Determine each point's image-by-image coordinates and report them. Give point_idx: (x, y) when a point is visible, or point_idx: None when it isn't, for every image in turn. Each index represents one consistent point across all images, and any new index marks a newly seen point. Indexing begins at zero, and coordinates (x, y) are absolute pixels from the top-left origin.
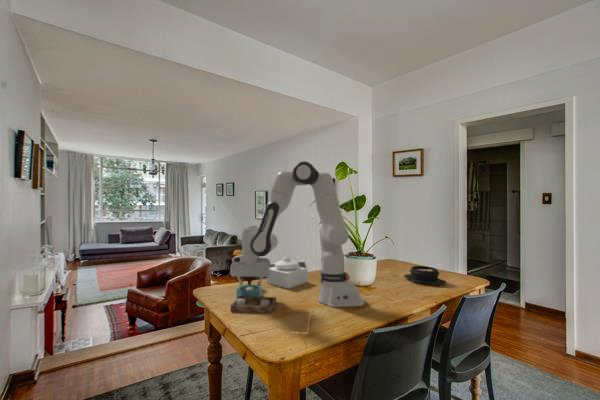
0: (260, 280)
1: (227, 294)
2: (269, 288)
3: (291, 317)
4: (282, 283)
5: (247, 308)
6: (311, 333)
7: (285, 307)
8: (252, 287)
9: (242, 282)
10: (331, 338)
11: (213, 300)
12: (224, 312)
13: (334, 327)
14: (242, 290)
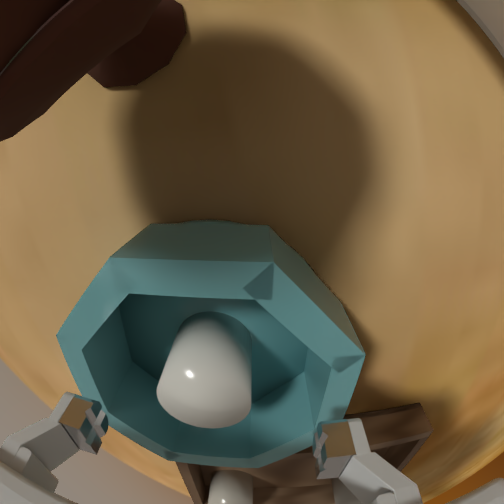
0: (361, 495)
1: (20, 264)
2: (371, 18)
3: (429, 466)
4: (491, 6)
5: (274, 502)
6: (434, 489)
7: (444, 421)
8: (232, 388)
9: (91, 429)
10: (456, 483)
11: (30, 369)
12: (173, 479)
13: (487, 456)
14: (165, 449)
